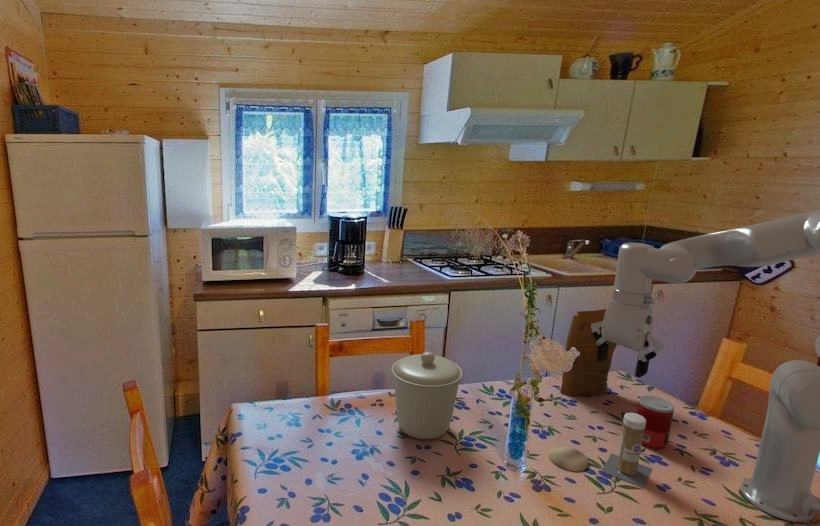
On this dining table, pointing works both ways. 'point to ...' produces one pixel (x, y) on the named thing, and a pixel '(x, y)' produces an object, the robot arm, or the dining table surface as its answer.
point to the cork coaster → (568, 458)
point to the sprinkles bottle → (631, 443)
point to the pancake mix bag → (586, 357)
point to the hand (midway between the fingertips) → (620, 367)
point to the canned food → (655, 421)
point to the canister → (425, 394)
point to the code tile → (636, 479)
